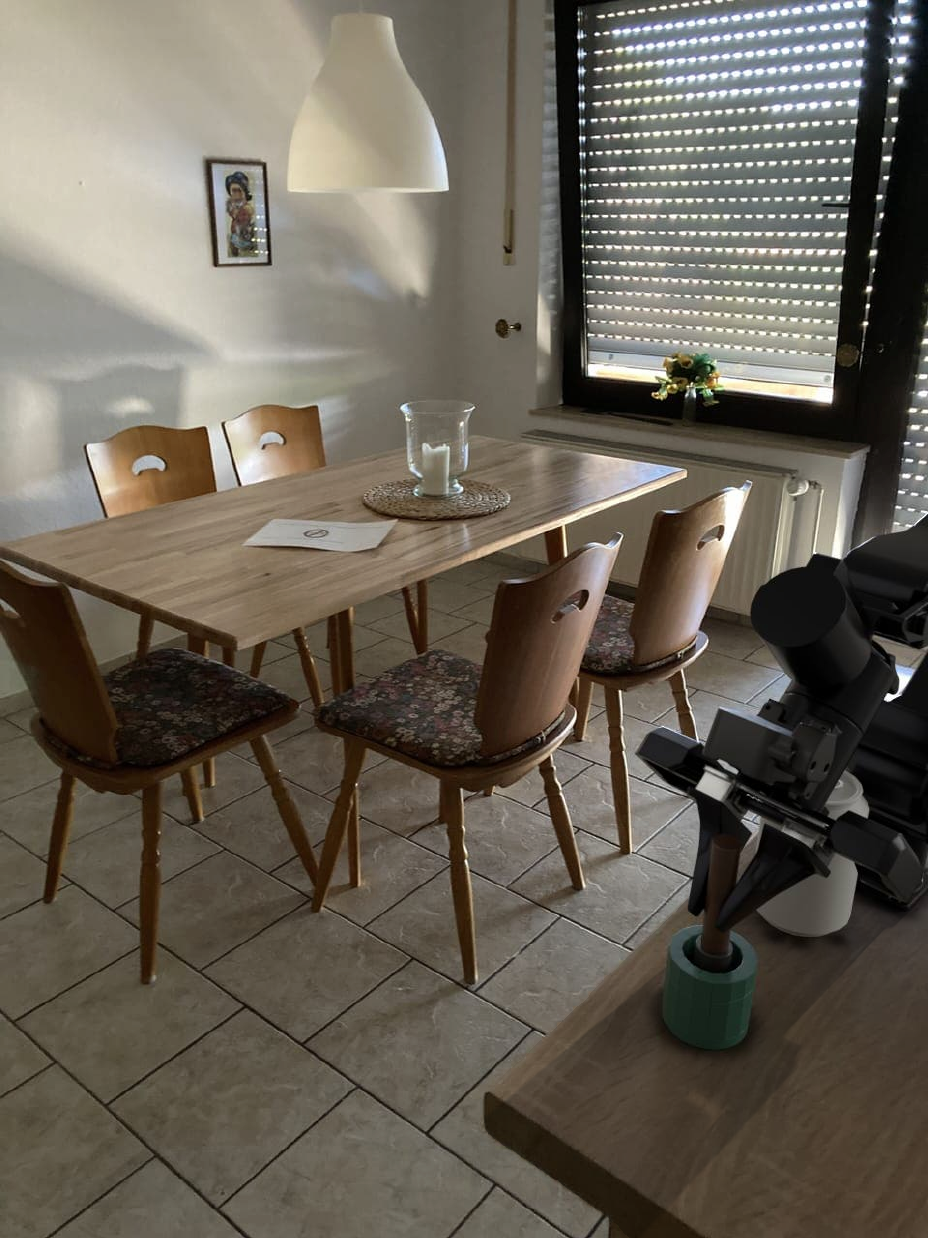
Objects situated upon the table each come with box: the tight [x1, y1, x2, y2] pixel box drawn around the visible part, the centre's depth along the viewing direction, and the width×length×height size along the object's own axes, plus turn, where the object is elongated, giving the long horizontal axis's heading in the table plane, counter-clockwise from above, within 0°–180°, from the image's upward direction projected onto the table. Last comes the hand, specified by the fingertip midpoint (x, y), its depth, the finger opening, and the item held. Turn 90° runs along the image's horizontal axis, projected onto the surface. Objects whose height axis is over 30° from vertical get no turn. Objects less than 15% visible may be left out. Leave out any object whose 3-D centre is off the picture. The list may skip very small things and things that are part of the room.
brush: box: [693, 834, 742, 973], centre depth 67 cm, size 2×2×12 cm
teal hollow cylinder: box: [661, 924, 759, 1051], centre depth 69 cm, size 6×6×6 cm
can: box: [755, 770, 869, 938], centre depth 78 cm, size 8×8×12 cm
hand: (705, 921), depth 66 cm, fingers closed on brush, 2 cm apart
